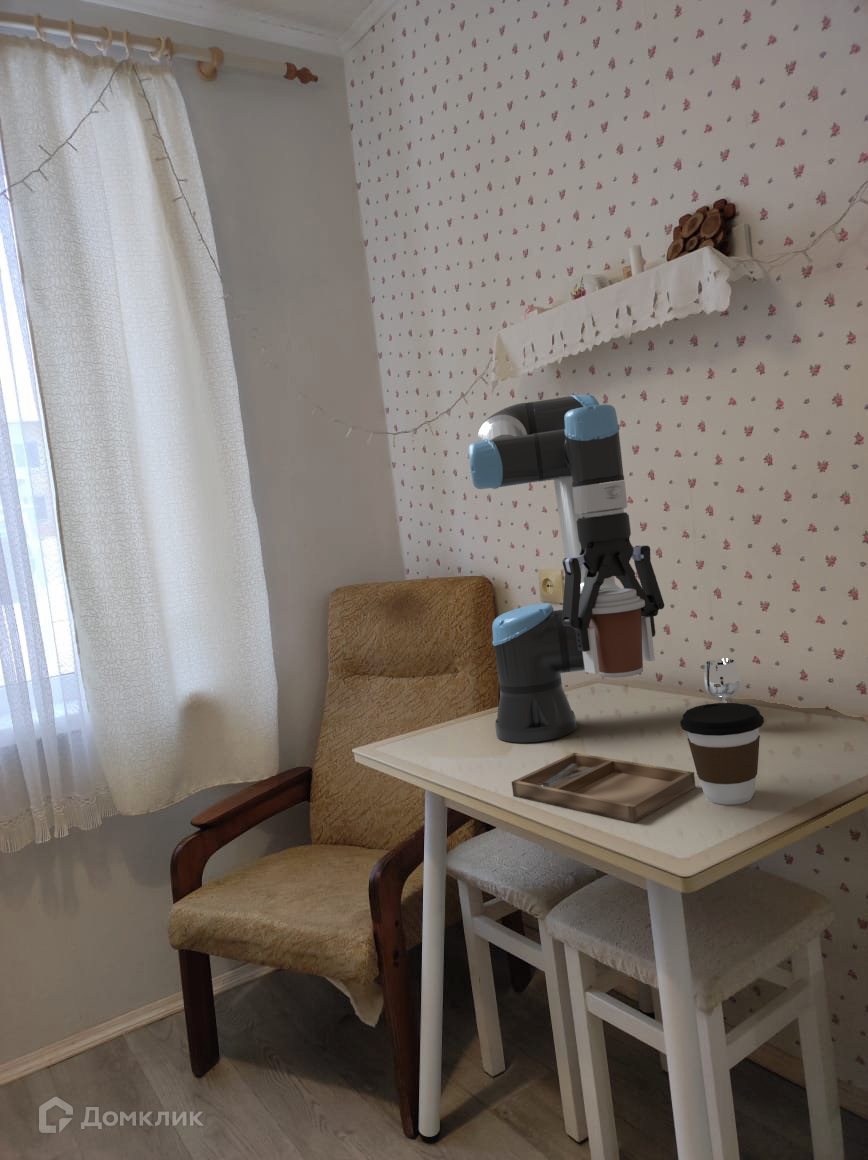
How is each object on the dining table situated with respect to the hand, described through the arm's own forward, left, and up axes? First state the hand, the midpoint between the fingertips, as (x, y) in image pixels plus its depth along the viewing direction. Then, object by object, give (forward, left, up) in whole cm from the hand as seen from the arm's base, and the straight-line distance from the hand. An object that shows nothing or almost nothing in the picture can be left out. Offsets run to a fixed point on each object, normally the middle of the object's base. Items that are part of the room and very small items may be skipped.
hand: (620, 666), depth 131 cm
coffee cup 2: (+15, +2, -18) cm, 24 cm away
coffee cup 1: (0, 0, -1) cm, 1 cm away
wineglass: (-1, +28, -18) cm, 34 cm away
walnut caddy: (-2, -5, -18) cm, 19 cm away
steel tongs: (-9, -5, -18) cm, 20 cm away
